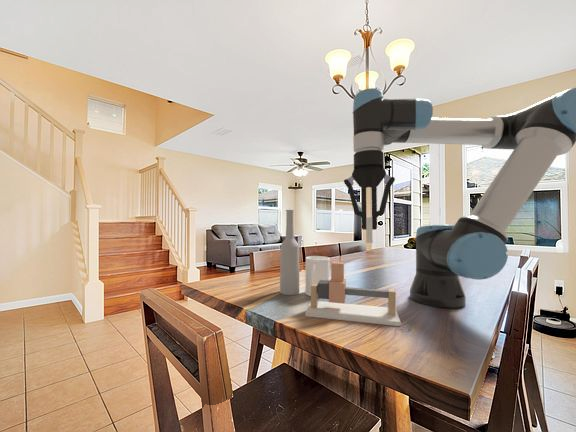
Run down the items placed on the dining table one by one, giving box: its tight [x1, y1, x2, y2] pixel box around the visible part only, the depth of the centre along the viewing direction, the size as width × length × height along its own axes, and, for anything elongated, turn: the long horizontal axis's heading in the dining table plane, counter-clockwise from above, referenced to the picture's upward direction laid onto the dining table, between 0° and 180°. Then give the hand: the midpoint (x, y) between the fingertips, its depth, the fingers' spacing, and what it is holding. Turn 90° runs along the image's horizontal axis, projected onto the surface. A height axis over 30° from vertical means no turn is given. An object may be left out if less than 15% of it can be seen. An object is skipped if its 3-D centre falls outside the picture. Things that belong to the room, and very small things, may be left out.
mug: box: [304, 255, 331, 297], centre depth 89 cm, size 12×8×12 cm
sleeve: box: [328, 261, 347, 304], centre depth 73 cm, size 4×5×10 cm
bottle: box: [279, 209, 300, 296], centre depth 91 cm, size 7×7×28 cm
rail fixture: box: [304, 280, 402, 327], centre depth 72 cm, size 23×10×8 cm, turn 75°
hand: (369, 242), depth 71 cm, fingers closed
